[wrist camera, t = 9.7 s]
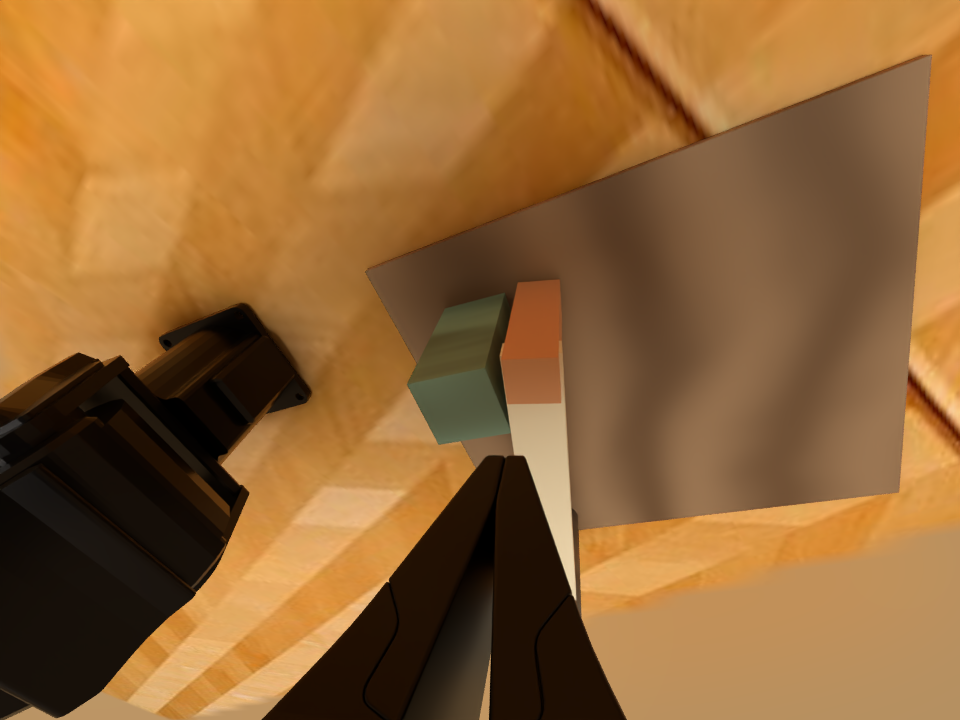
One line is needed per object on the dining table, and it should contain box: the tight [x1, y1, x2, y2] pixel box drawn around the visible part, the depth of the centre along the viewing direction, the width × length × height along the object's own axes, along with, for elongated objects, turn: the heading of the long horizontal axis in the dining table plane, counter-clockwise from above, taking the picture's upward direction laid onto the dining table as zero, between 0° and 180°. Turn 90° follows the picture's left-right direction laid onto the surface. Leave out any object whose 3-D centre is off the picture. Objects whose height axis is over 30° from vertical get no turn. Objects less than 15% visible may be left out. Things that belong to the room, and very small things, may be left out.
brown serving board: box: [365, 55, 932, 616], centre depth 18 cm, size 21×20×9 cm
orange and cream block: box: [500, 279, 576, 600], centre depth 20 cm, size 14×2×6 cm, turn 8°
